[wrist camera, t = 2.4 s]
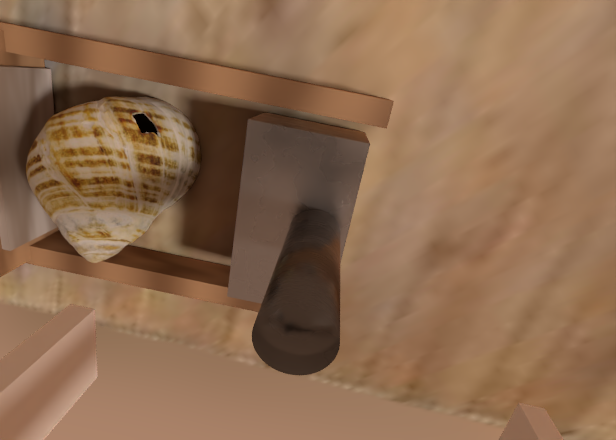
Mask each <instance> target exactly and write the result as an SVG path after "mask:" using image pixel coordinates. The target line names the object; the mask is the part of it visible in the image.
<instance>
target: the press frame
mask: <svg viewBox="0 0 616 440" xmlns="http://www.w3.org/2000/svg"><path fill="white" fill-rule="evenodd" d="M44 59H45V60H50V61H55V62H60V63H65V64H70V65H75V66H80V67H85V68H90V69H95V70H100V71H104V72H109V73H114V74H119V75H124V76H129V77H134V78H139V79H144V80H149V81H154V82H159V83H164V84H169V85H174V86H179V87H184V88H189V89H194V90H199V91H204V92H209V93H214V94H219V95H224V96H229V97H234V98H239V99H243V100H248V101H253V102H258V103H263V104H268V105H273V106H278V107H283V108H288V109H293V110H298V111H303V112H308V113H313V114H318V115H323V116H328V117H333V118H338V119H343V120H348V121H353V122H358V123H363V124H368V125H373V126H378V127H382V128H387V125H388V121H389V118H390V114H391V110H392V106H393V102H394V101H392V100H389V99H385V98H380V97H375V96H370V95H365V94H360V93H355V92H350V91H345V90H340V89H335V88H330V87H325V86H320V85H315V84H310V83H305V82H300V81H295V80H290V79H285V78H280V77H275V76H270V75H265V74H260V73H255V72H250V71H245V70H240V69H235V68H230V67H225V66H220V65H215V64H210V63H205V62H200V61H195V60H190V59H185V58H180V57H175V56H170V55H165V54H160V53H155V52H150V51H145V50H140V49H135V48H130V47H125V46H120V45H115V44H110V43H105V42H100V41H95V40H90V39H85V38H80V37H75V36H70V35H65V34H60V33H55V32H50V31H45V30H40V29H35V28H30V27H25V26H20V25H15V24H10V23H5V22H0V277H1V276H3V275H5V274H7V273H8V272H10V271H12V270H14V269H15V268H17V267H19V266H21V265H22V264H24V263H28V264H33V265H38V266H43V267H47V268H52V269H57V270H62V271H66V272H71V273H76V274H81V275H85V276H90V277H95V278H100V279H104V280H109V281H114V282H119V283H123V284H128V285H133V286H138V287H142V288H147V289H152V290H157V291H161V292H166V293H171V294H176V295H180V296H185V297H190V298H195V299H199V300H204V301H209V302H214V303H218V304H223V305H228V306H233V307H237V308H242V309H247V310H252V311H256V312H259V310H260V307H261V303H256V302H251V301H246V300H242V299H237V298H232V297H227V293H228V284H229V276H230V266H225V265H220V264H215V263H211V262H206V261H201V260H196V259H191V258H187V257H182V256H177V255H172V254H168V253H163V252H158V251H153V250H148V249H144V248H139V247H134V246H129V245H126V246H125V247H124V248H123V249H122V250H121V251H120V252H119V253H118V254H116V255H114V256H113V257H110V258H108V259H106V260H103V261H100V262H97V263H91V262H89V261H87V260H86V259H85V258H84V257H83V256H82V255H80V254H79V253H78V252H77V251H76V250H75V248H74V247H73V246H72V245H71V244H69V242H68V241H67V240H66V239H65V238H64V237H63V235H62V234H61V232H60V231H58V226H57V224H55V223H54V222H53V220H52V219H51V218H50V216H49V215H48V214H47V213H46V212H45V210H44V209H43V207H42V206H41V204H40V202H39V201H38V198H37V197H36V196H35V194H34V193H33V191H32V189H31V187H30V185H29V182H28V179H27V175H26V164H27V158H28V153H29V150H30V149H31V146H32V144H33V143H34V141H35V139H36V137H37V136H38V135H39V133H40V132H41V130H42V129H43V127H44V126H45V124H46V122H47V121H48V119H49V118H51V117H52V116H53V115H54V102H53V90H52V77H51V69H48V68H45V64H44Z"/></svg>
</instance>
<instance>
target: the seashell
mask: <svg viewBox="0 0 616 440" xmlns="http://www.w3.org/2000/svg"><path fill="white" fill-rule="evenodd" d="M141 113H143V114H145V115H146V117H147V118H148V119H149V120H150V121H151V122H152V123H153V124H154V125H155V127H156V129H157V131H158V132H157V134H158V136H157V135H156V134H155V133H153V132H151V133H148V132H146V133H141V132H140V129H139V127H138V125H137V123H136V120H135V119H134V118H133V116H132V115H135V114H141ZM200 165H201V152H200V147H199V139H198V135H197V133H196V130H195V128H194V126H193V125H192V124H191V122H190V121H189V120H188V118H187V117H186V116H185V115H184V114H183V113H182V112H181V111H180V110H179V109H177V108H175V107H174V106H172V105H171V104H169V103H166V102H164V101H162V100H159V99H156V98H150V97H104V98H102V99H101V100H98V101H93V102H87V103H83V104H80V105H77V106H73V107H71V108H68V109H66V110H64V111H61V112H59V113H57V114H55V115H53V116H52V117H51V118H49V119H48V121H47V122H46V124H45V126H44V127H43V129H42V130H41V132H40V133H39V135H38V136H37V137H36V139H35V141H34V143H33V144H32V146H31V149H30V150H29V153H28V158H27V164H26V175H27V179H28V182H29V185H30V187H31V189H32V191H33V193H34V194H35V196H36V197H37V198H38V201H39V202H40V204H41V206H42V207H43V209H44V210H45V212H46V213H47V214H48V215H49V216H50V218H51V219H52V220H53V222H54V223H55V224H57V226H58V228H59V230H60V232H61V234H62V235H63V237H64V238H65V239H66V240H67V241H68V242H69V244H71V245H72V246H73V247H74V248H75V250H76V251H77V252H78V253H79V254H80V255H82V256H83V257H84V258H85V259H86V260H87V261H89V262H91V263H97V262H100V261H103V260H106V259H108V258H110V257H113V256H114V255H116V254H118V253H119V252H120V251H121V250H122V249H123V248H124V247H125V246H126V245H128V244H130V243H133V242H134V241H135V240H136V239H138V238H139V237H140V236H142V235H143V234H144V233H145V232H146V231H147V230H148V229H149V227H150V225H151V224H152V222H153V220H154V219H155V218H156V217H157V216H158V215H159V214H160V213H161V212H162V211H163V210H165V209H166V208H168V207H170V206H171V205H173V204H174V203H175V202H176V201H177V200H179V199H180V198H181V197H182V196H183V195H184V194H185V193H186V192H187V191H188V190H189V189H190V188H191V186H192V184H193V183H194V181H195V180H196V178H197V175H198V172H199V170H200Z"/></svg>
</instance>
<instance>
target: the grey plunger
mask: <svg viewBox="0 0 616 440" xmlns="http://www.w3.org/2000/svg"><path fill="white" fill-rule="evenodd" d="M369 146H370V143H369V141H368V138H367V136H366V134H365V132H360V131H355V130H350V129H345V128H341V127H336V126H331V125H326V124H321V123H316V122H311V121H306V120H301V119H296V118H291V117H286V116H281V115H276V114H271V113H266V112H265V113H263V114H260V115H258V116H255V117H252V118H250V119H248V124H247V132H246V141H245V149H244V158H243V166H242V174H241V183H240V191H239V200H238V208H237V217H236V225H235V234H234V242H233V250H232V259H231V267H230V276H229V284H228V293H227V297H232V298H237V299H242V300H246V301H251V302H256V303H261V307H260V310H259V313H258V315H257V318H256V321H255V324H254V327H253V330H252V342H253V346H254V348H255V350H256V352H257V354H258V355H259V357H260V358H261V359H262V360H263V361H264V362H265V363H266V364H268V365H269V366H270V367H272V368H274V369H276V370H278V371H280V372H283V373H287V374H292V375H307V374H312V373H316V372H318V371H320V370H322V369H324V368H326V367H327V366H328V365H329V364H330V363H331V362H332V361H333V360H334V359H335V357H336V355H337V353H338V350H339V346H340V262H341V258H342V254H343V250H344V246H345V242H346V238H347V234H348V230H349V226H350V222H351V218H352V214H353V210H354V206H355V202H356V198H357V194H358V190H359V186H360V182H361V178H362V174H363V170H364V166H365V162H366V158H367V154H368V150H369Z"/></svg>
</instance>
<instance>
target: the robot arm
mask: <svg viewBox="0 0 616 440" xmlns="http://www.w3.org/2000/svg"><path fill="white" fill-rule="evenodd" d="M96 378H97V353H96V331H95V309H91V308H87V307H82V306H77V305H73V304H70V305H69V306H68V307H66V308H65V309H64V310H62V311H61V312H60V313H59V314H57V315H56V316H55V317H54V318H52V319H51V320H50V321H49V322H47V323H46V324H45V325H44V326H42V327H41V328H40V329H39V330H37V331H36V332H35V333H33V334H32V335H31V336H30V337H29V338H27V339H26V340H25V341H23V342H22V343H21V344H20V345H18V346H17V347H16V348H15V349H13V350H12V351H11V352H9V353H8V354H7V355H6V356H4V357H3V358H2V359H1V360H0V440H44V439H45V438H46V437H47V435H48V434H49V433H50V432H51V431H52V430H53V428H54V427H55V426H56V425H57V424H58V422H59V421H60V420H61V419H62V418H63V417H64V416H65V414H66V413H67V412H68V411H69V410H70V409H71V407H72V406H73V405H74V404H75V403H76V401H77V400H78V399H79V398H80V397H81V396H82V394H83V393H84V392H85V391H86V390H87V389H88V387H89V386H90V385H91V384H92V383H93V382H94V380H95V379H96ZM499 440H564V439H563V438H562V436H561V435H560V433H559V431H558V430H557V428H556V426H555V425H554V423H553V422H552V420H551V418H550V417H549V415H548V414H547V412H546V410H545V409H544V408H540V407H535V406H531V405H526V404H522V403H518V405H517V407H516V409H515V411H514V413H513V414H512V416H511V418H510V420H509V422H508V424H507V425H506V427H505V429H504V431H503V433H502V435H501V436H500V438H499Z"/></svg>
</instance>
